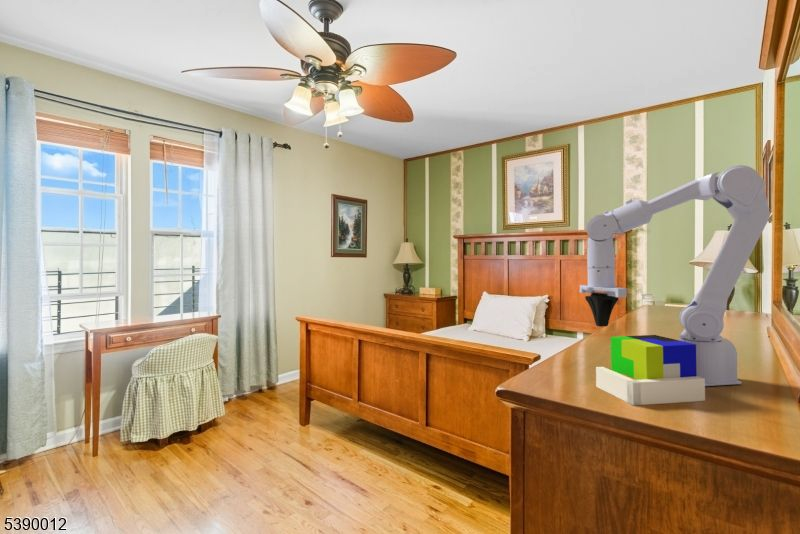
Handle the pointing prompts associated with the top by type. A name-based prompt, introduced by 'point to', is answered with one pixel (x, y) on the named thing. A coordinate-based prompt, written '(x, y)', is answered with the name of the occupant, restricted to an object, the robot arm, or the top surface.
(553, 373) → the top surface
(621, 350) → the puzzle toy
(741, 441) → the top surface
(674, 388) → the corner walls
